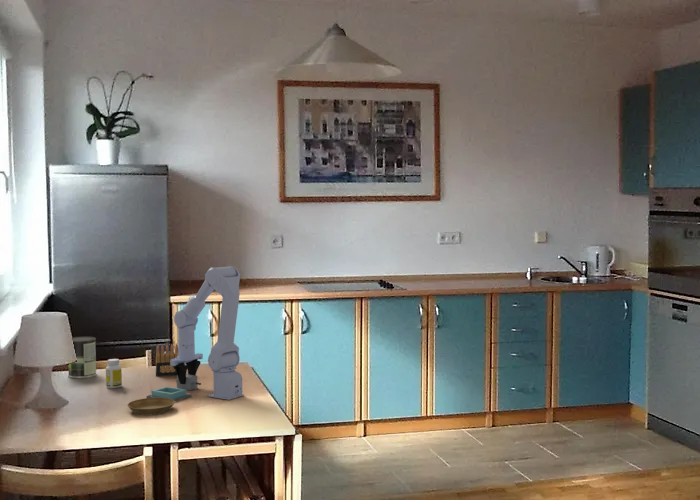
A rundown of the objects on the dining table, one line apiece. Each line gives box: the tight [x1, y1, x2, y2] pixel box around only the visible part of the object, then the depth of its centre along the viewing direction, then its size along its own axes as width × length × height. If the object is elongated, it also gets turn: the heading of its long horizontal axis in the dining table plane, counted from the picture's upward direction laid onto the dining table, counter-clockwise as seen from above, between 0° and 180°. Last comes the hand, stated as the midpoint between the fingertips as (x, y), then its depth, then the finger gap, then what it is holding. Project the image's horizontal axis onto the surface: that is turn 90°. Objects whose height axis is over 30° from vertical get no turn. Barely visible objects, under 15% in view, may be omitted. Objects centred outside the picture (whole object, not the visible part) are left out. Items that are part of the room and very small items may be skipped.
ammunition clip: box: [155, 342, 178, 377], centre depth 325 cm, size 11×2×12 cm, turn 107°
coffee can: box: [67, 336, 97, 379], centre depth 324 cm, size 10×10×14 cm
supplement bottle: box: [105, 358, 123, 389], centre depth 305 cm, size 5×5×10 cm
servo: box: [175, 373, 202, 391], centre depth 302 cm, size 11×4×5 cm, turn 57°
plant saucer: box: [127, 397, 176, 416], centre depth 273 cm, size 15×15×3 cm
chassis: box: [146, 386, 193, 402], centre depth 290 cm, size 12×9×2 cm
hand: (187, 382), depth 303 cm, fingers closed on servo, 4 cm apart
